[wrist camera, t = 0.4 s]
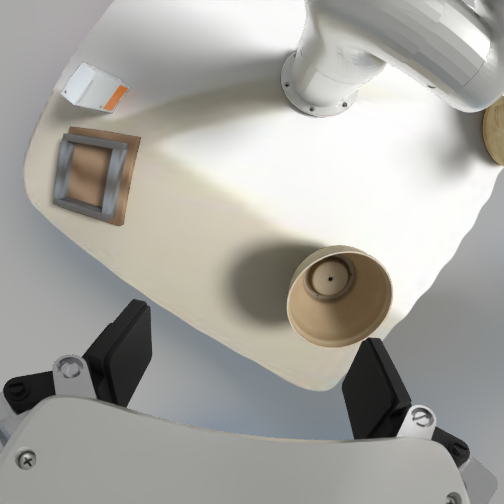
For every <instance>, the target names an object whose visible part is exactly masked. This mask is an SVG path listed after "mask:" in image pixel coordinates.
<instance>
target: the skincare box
mask: <svg viewBox="0 0 504 504" xmlns="http://www.w3.org/2000/svg"><path fill="white" fill-rule="evenodd" d="M129 89H130V87H129V86H128V85H127V84H126V83H124V82H123V81H122V80H120V79H119V78H117V77H116V76H113V75H111V74H109V73H107V72H105V71H102V70H100V69H98V68H95V67H93V66H91V65H89V64H87V63H84V62H82V63H81V64H80V66H79V67H78V68H77V70H76V71H75V73H74V74H73V75H72V76H71V78H70V79H69V81H68V83H67V85H66V86H65V88H64V89H63V91H62V93H61V95H62V96H63V97H64V98H66V99H67V100H68V101H69V102H70V103H72V104H73V105H75V106H80V107H85V108H90V109H95V110H99V111H104V112H108V113H112V112H113V110H114V109H115V107H116V106H117V105H118V103H119V102H120V100H121V99H122V98H123V96H124V95H125V94H126V93H127V91H128V90H129Z"/></svg>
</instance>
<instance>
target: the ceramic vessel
mask: <svg viewBox="0 0 504 504" xmlns="http://www.w3.org/2000/svg"><path fill="white" fill-rule="evenodd" d="M483 138H484V142H485V145H486V148H487V150H488V152H489V153H490V155H491V157H492V158H493V159H494V160H495V161H496V162H497V163H498V164H500V165H502V166H504V96H501V97H500V98H499V99H498V100H497V101H496V102H494V103H493V104H492V105H491V106H489V107H488V108H486V111H485V114H484V119H483Z"/></svg>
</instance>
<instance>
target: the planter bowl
mask: <svg viewBox="0 0 504 504" xmlns="http://www.w3.org/2000/svg"><path fill="white" fill-rule="evenodd" d="M329 277H332V281H329ZM392 300H393V286H392V281H391V278H390V276H389V274H388V272H387V270H386V269H385V267H384V266H383V265H382V264H381V263H380V262H379V261H378V260H376V259H375V258H374V257H372V256H370V255H368V254H367V253H365V252H363V251H361V250H359V249H356V248H353V247H349V246H342V245H336V246H329V247H325V248H322V249H320V250H317V251H316V252H314V253H312V254H311V255H309V256H308V257H307V258H306V259H305V260H304V261H303V262H302V263H301V264H300V265H299V266H298V268H297V269H296V271H295V273H294V275H293V277H292V279H291V282H290V286H289V291H288V296H287V303H286V309H287V316H288V320H289V323H290V325H291V327H292V328H293V330H294V331H295V332H296V334H297V335H298V336H299V337H300V338H301V339H303V340H304V341H306V342H308V343H309V344H312V345H314V346H317V347H320V348H325V349H339V348H345V347H349V346H352V345H355V344H357V343H359V342H361V341H363V340H365V339H366V338H368V337H369V336H371V335H372V334H373V333H374V332H375V331H376V330H377V329H378V328H379V327H380V326H381V325H382V323H383V322H384V320H385V319H386V317H387V315H388V313H389V311H390V308H391V305H392Z"/></svg>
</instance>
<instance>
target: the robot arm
mask: <svg viewBox="0 0 504 504" xmlns="http://www.w3.org/2000/svg"><path fill="white" fill-rule="evenodd" d="M304 1H305V8H306V21H305V26H304V30H303V33H302V37H301V40H300V44H299V47H298V51H296V52H294V53H293V54H292V55H291V56H289V57H288V59H287V60H286V61H285V63H284V65H283V67H282V72H281V85H282V88H283V91H284V93H285V95H286V96H287V98H288V99H289V100H290V102H291V103H292V104H293V105H294V106H296V107H297V108H298V109H300V110H301V111H303V112H305V113H307V114H310V115H313V116H318V117H329V116H335V115H337V114H340V113H342V112H344V111H345V110H347V109H348V108H349V107H350V106H351V105H352V104H353V103H354V101H355V99H356V97H357V93H358V89H359V88H360V87H362V86H363V85H364V84H366V83H367V82H369V81H370V80H371V79H373V78H374V77H375V76H377V75H378V74H379V73H380V72H381V71H382V70H383V69H384V67H385V66H386V64H387V63H389V64H390V65H392V66H394V67H397V68H398V69H400V70H401V71H403V72H404V73H406V74H407V75H409V76H410V77H412V78H413V79H415V80H416V81H418V82H419V83H420V84H422V85H423V86H424V87H426V88H427V89H429V90H430V91H431V92H433V93H434V94H435V95H436V96H438V97H439V98H440V99H442V100H443V101H445V102H446V103H447V104H449V105H450V106H452V107H453V108H455V109H457V110H460V111H463V112H468V113H472V112H478V111H481V110H484V109H486V108H488V107H489V106H491V105H492V104H493V103H494V102H496V101H497V100H498V99H499V98H500V97H501V96H502V95H503V94H504V0H475V8H474V10H473V9H471V8H470V7H469V6H468V5H467V4H465V3H464V2H463V1H462V0H304ZM295 57H296V58H295ZM285 85H288V87H286V86H285ZM342 104H344V105H345V107H343V106H342ZM310 109H312V110H313V111H310ZM151 357H152V342H151V314H150V306H147V303H146V302H144V301H141V300H136V299H133V300H132V301H131V302H130V303H129V304H128V306H127V307H126V308H125V309H124V310H123V312H122V313H121V314H120V315H119V316H118V317H117V318H116V320H115V321H114V322H113V323H110V324H109V325H108V326H107V327H106V328H105V329H104V331H103V332H102V333H101V334H100V335H99V336H98V338H97V339H96V340H95V341H94V342H93V344H92V345H91V346H90V347H89V349H88V350H87V351H86V353H85V354H84V355H83V356H82V357H80V356H77V355H65V356H62V357H60V358H58V359H57V360H56V361H55V362H54V364H53V371H48V372H43V373H37V374H33V375H26V376H20V377H15V378H12V379H10V380H9V381H8V382H7V383H6V384H5V386H4V388H3V392H1V393H0V504H488V503H489V501H490V499H491V498H492V496H493V494H494V493H495V491H496V489H497V484H498V483H497V479H496V477H495V476H494V475H493V474H492V473H491V472H490V471H489V470H487V469H486V468H485V467H484V466H483V465H482V464H481V463H480V462H479V461H478V460H476V459H475V458H474V457H472V458H469V455H470V451H469V448H468V446H467V444H466V443H465V442H463V441H462V440H460V439H458V438H456V437H454V436H453V435H451V434H449V433H447V432H445V431H443V430H442V429H440V428H438V427H436V416H435V414H434V413H433V412H432V411H431V409H429V408H428V407H425V406H423V405H415V406H412V405H411V403H410V402H411V399H410V396H409V394H408V392H407V390H406V388H405V386H404V384H403V382H402V380H401V378H400V376H399V374H398V372H397V370H396V368H395V366H394V364H393V362H392V360H391V358H390V356H389V354H388V352H387V351H386V349H385V347H384V345H383V343H382V341H381V339H379V338H369V337H368V338H367V339H366V340H364V341H362V343H361V345H360V347H359V350H358V352H357V354H356V356H355V358H354V360H353V363H352V365H351V367H350V369H349V371H348V373H347V375H346V377H345V379H344V381H343V383H342V392H343V395H344V399H345V403H346V407H347V411H348V415H349V419H350V423H351V427H352V431H353V436H354V440H300V439H283V438H270V437H260V436H251V435H243V434H236V433H230V432H223V431H218V430H212V429H206V428H201V427H196V426H192V425H187V424H183V423H179V422H175V421H170V420H167V419H163V418H159V417H156V416H152V415H148V414H145V413H141V412H138V411H135V410H131V409H128V408H126V407H127V405H128V403H129V401H130V399H131V397H132V395H133V393H134V391H135V389H136V387H137V385H138V384H139V382H140V380H141V378H142V376H143V374H144V372H145V370H146V368H147V366H148V364H149V363H150V361H151Z"/></svg>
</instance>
